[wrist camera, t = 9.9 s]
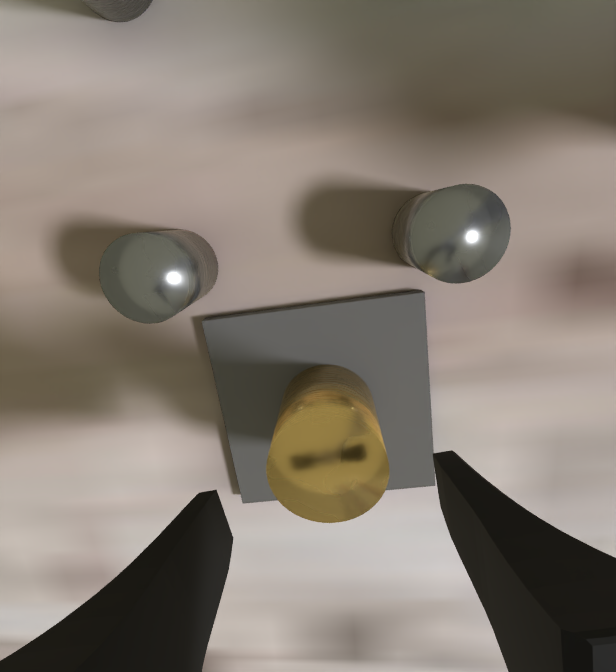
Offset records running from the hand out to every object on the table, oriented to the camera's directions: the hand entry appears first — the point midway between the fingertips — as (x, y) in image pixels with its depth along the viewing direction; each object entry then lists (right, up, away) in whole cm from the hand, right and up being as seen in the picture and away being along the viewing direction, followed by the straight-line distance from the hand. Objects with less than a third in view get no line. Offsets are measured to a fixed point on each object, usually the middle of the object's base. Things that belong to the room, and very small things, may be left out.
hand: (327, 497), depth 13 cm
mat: (0, +2, +7) cm, 7 cm away
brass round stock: (0, +2, +6) cm, 6 cm away
